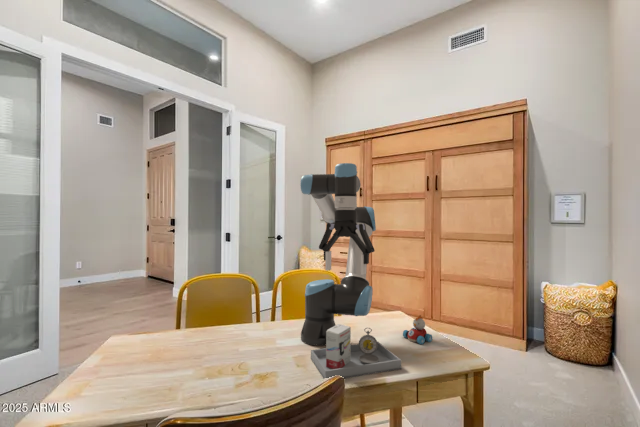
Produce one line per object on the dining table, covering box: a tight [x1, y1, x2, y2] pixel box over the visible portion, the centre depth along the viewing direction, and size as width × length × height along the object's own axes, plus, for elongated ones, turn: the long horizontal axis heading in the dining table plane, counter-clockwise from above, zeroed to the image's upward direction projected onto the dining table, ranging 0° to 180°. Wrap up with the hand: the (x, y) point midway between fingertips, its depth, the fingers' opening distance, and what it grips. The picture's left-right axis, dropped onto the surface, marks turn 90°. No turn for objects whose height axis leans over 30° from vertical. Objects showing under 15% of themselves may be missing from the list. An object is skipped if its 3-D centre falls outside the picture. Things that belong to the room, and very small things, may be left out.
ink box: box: [325, 323, 352, 369], centre depth 107 cm, size 9×5×12 cm, turn 146°
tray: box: [310, 341, 402, 379], centre depth 108 cm, size 26×16×3 cm, turn 108°
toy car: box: [402, 314, 433, 345], centre depth 130 cm, size 9×9×10 cm
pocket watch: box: [357, 327, 379, 364], centre depth 110 cm, size 8×8×10 cm
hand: (345, 272), depth 109 cm, fingers open, 13 cm apart
